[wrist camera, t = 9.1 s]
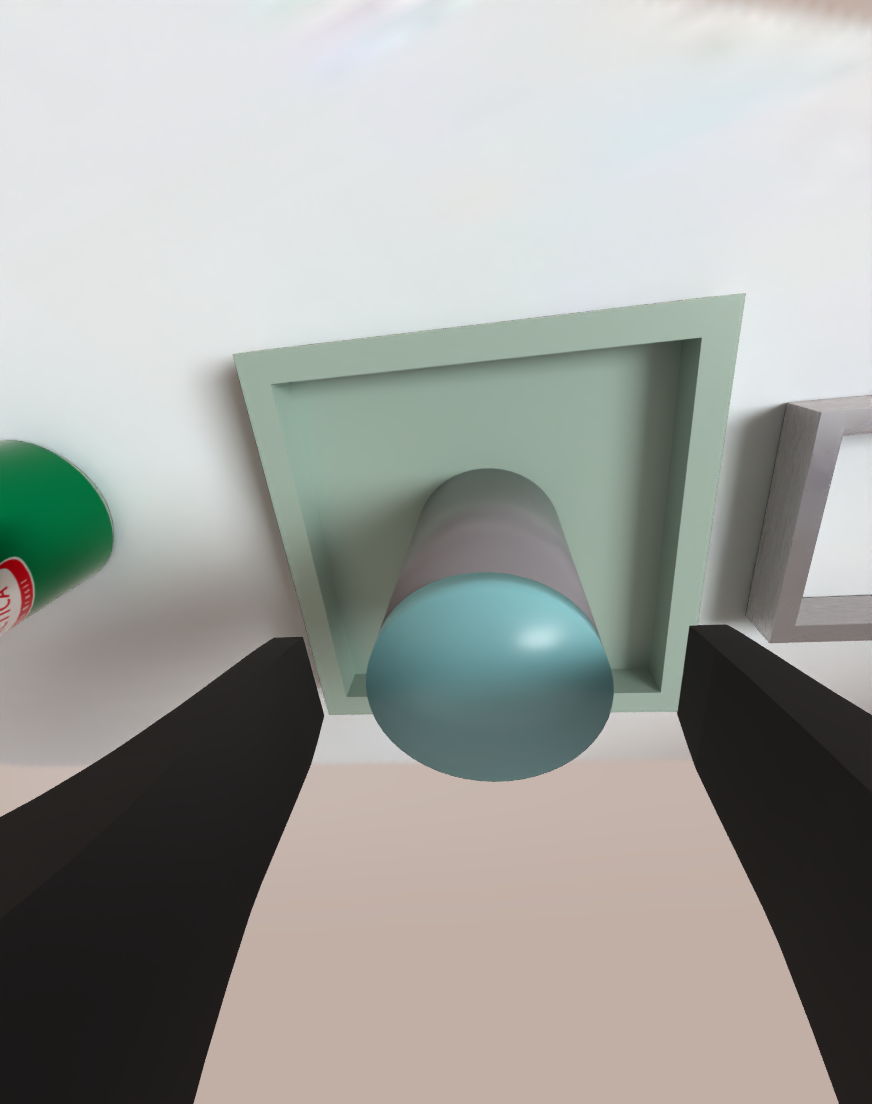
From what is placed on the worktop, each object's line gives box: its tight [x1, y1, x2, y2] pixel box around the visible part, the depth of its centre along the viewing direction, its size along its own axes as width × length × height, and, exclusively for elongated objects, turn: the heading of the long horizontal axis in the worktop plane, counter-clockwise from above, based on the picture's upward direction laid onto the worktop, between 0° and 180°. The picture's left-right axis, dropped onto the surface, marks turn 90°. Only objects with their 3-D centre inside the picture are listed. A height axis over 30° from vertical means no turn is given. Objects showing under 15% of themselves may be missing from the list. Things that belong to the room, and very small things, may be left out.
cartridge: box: [366, 468, 614, 782], centre depth 12 cm, size 4×4×7 cm
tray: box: [233, 293, 746, 715], centre depth 15 cm, size 12×12×2 cm
